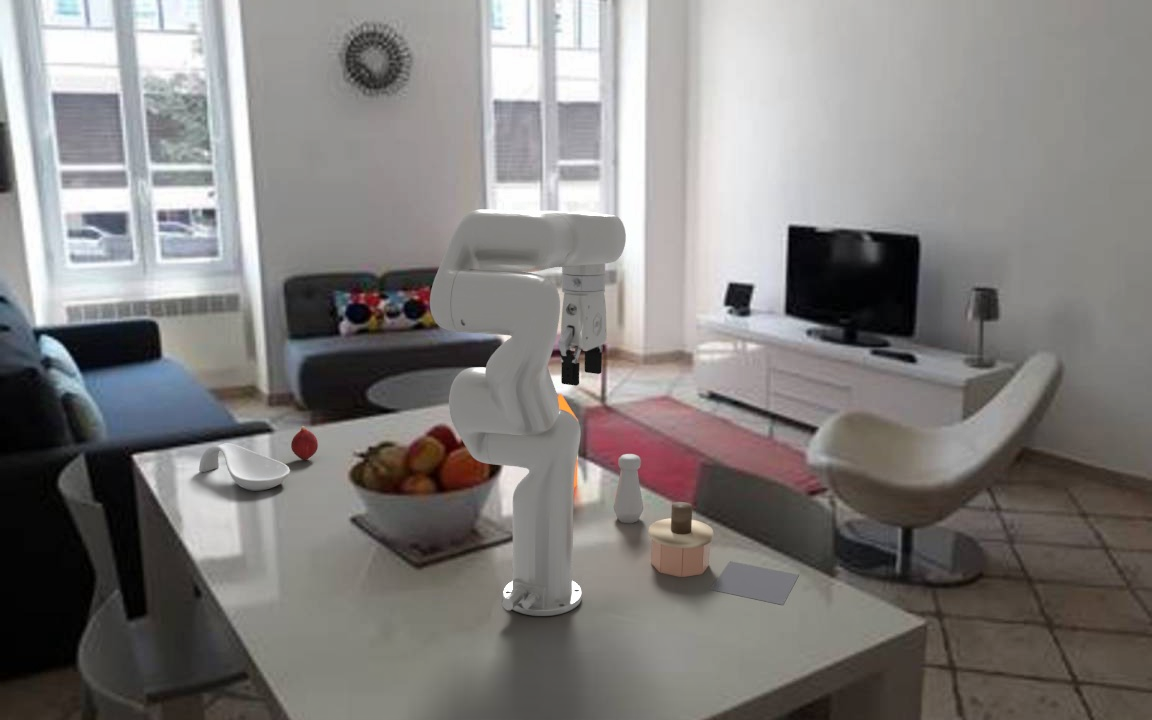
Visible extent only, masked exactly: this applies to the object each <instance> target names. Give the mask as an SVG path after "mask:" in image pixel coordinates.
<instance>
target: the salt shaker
mask: <svg viewBox="0 0 1152 720" xmlns="http://www.w3.org/2000/svg"><path fill="white" fill-rule="evenodd" d="M617 462H618V467H619V469H620V473H619V479H618V483H617V488H616V492H615V493H616V494H615V498H614V503H613V511H614V513H615V516H616V518H617V520H618V521H620V523H623V524H624V523H626V524H633V523H637V521H639V519H640V517H641V516H642V514H643V512H644V509H645V508H644V502H643V497H642V491H641V486H640V479H639V472H638V470H639V469H640V468H641V466H642V465H641V464H642V460H641V457H640V456H639V455H637V454H634V453H624V454H622V455H621V456H620V457H618V460H617Z"/></svg>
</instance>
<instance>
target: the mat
mask: <svg viewBox="0 0 1152 720" xmlns="http://www.w3.org/2000/svg"><path fill="white" fill-rule="evenodd" d="M799 576H800V574H796V573H791V572H787V571H781V570H778V569H771V568H767V567H761V566H757V565H751V564H746V563H741V562H737V561H731V560H730V561H729V562H728V563H727V565H726V566H725V568H724V569H723V570H722V572H721V573H720V574H719V576H718V577H717V578H716V579H715V581H714V583H713V584H712V586H711V587H710V588H709V590H710V591H714V592H719V593H723V594H728V595H733V596H738V597H743V598H746V599H752V600H755V601H756V600H757V601H761V602H767V603H771V604H775V605H779V606H784V604H785V602H786V600H787V598H788V597H789V594H790V593H791V591H792V589H793V587H794V585H795V584H796V582H797V579H798V578H799Z"/></svg>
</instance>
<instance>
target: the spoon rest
mask: <svg viewBox="0 0 1152 720" xmlns="http://www.w3.org/2000/svg"><path fill="white" fill-rule="evenodd" d="M220 452H222V454H223V456H224V461H225V464H226V468H227V471H228V472H229V474H230V477H231V479H232V480H233V481H234V482H235V484H236V485H238V486H240V487H241V488H243V489H245V490H247V491H253V492H254V491H255V492H256V491H257V492H258V491H259V492H261V491H266V490H269V489H273V488H275V487H277V486H278V485H280V484H282V483H283V482H284V481H286V479H287V477H288V476H289V475H290V472H291V470H290V467H289V466H288V465H286V464H285V463H284V462H281V461H280V460H276V459H274V458H272V457H269V456H266V455H263V454H260V453H259V452H255V451H253V450H251V449H248V448H245V447H243V446H241V445H237V444H235V443H231V442H225V443H220V444H219V445H212V446H210V447H209V448H207V449H206V450H205V451H204V452H203V454H202V456H201V459H200V461H199V468H198V471H199V472H200V473H205V472H211V471H212V470H216V469H217V468H219V466H220V465H219V463H220V462H219V453H220Z"/></svg>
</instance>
